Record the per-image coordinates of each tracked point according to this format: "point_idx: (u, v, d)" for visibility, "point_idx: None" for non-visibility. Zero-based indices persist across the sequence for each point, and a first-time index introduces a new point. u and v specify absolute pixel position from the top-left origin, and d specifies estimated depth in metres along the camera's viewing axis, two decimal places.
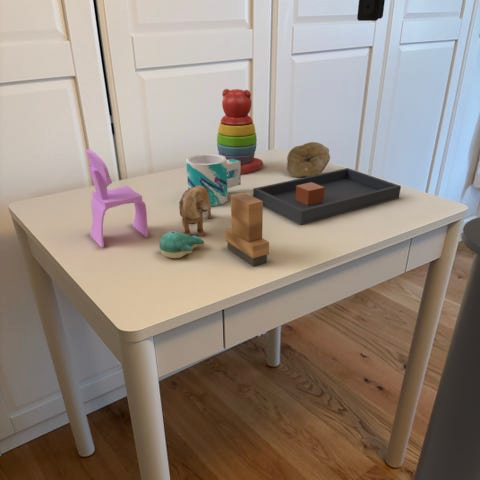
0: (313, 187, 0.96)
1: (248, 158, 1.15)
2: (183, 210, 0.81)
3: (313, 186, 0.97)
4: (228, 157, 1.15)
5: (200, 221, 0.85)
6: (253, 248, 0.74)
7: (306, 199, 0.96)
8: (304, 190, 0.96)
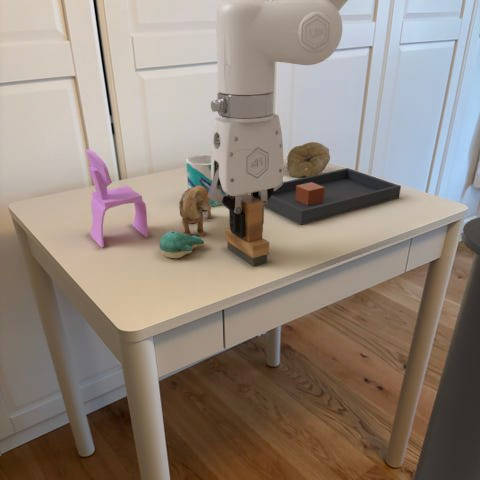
0: (313, 187, 0.96)
1: None
2: (183, 210, 0.81)
3: (313, 186, 0.97)
4: None
5: (200, 221, 0.85)
6: (253, 248, 0.74)
7: (306, 199, 0.96)
8: (304, 190, 0.96)
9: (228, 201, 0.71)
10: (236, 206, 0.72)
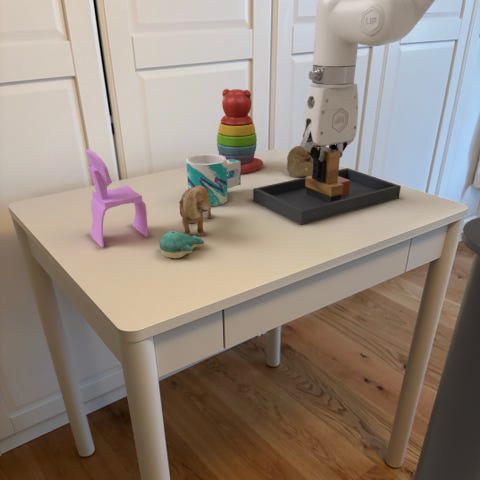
0: (339, 180, 1.00)
1: (248, 158, 1.15)
2: (183, 210, 0.81)
3: (339, 179, 1.00)
4: (228, 157, 1.15)
5: (200, 221, 0.85)
6: (332, 188, 0.95)
7: None
8: None
9: (315, 151, 0.92)
10: (320, 155, 0.93)
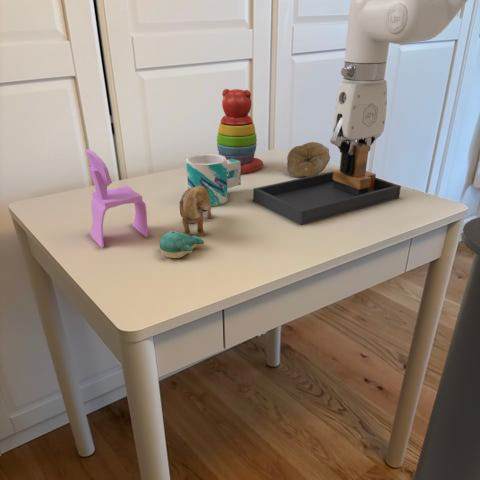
0: (365, 174, 1.03)
1: (248, 158, 1.15)
2: (183, 210, 0.81)
3: (365, 173, 1.04)
4: (228, 157, 1.15)
5: (200, 221, 0.85)
6: (360, 181, 0.98)
7: None
8: None
9: (345, 145, 0.96)
10: (350, 149, 0.96)
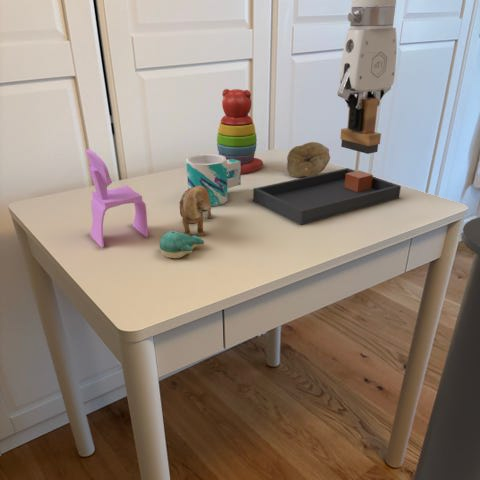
0: (362, 175, 1.03)
1: (248, 158, 1.15)
2: (183, 210, 0.81)
3: (362, 174, 1.03)
4: (228, 157, 1.15)
5: (200, 221, 0.85)
6: (369, 137, 0.94)
7: (356, 186, 1.02)
8: (354, 177, 1.02)
9: (353, 98, 0.91)
10: (358, 102, 0.92)
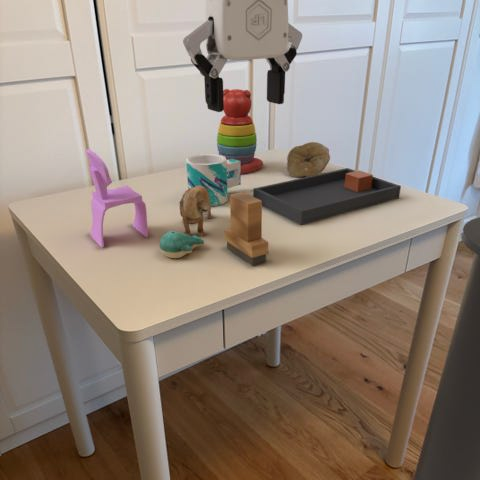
0: (362, 175, 1.03)
1: (248, 158, 1.15)
2: (183, 210, 0.81)
3: (362, 174, 1.03)
4: (228, 157, 1.15)
5: (200, 221, 0.85)
6: (252, 248, 0.74)
7: (356, 186, 1.02)
8: (354, 177, 1.02)
9: (202, 60, 0.60)
10: (215, 66, 0.61)
